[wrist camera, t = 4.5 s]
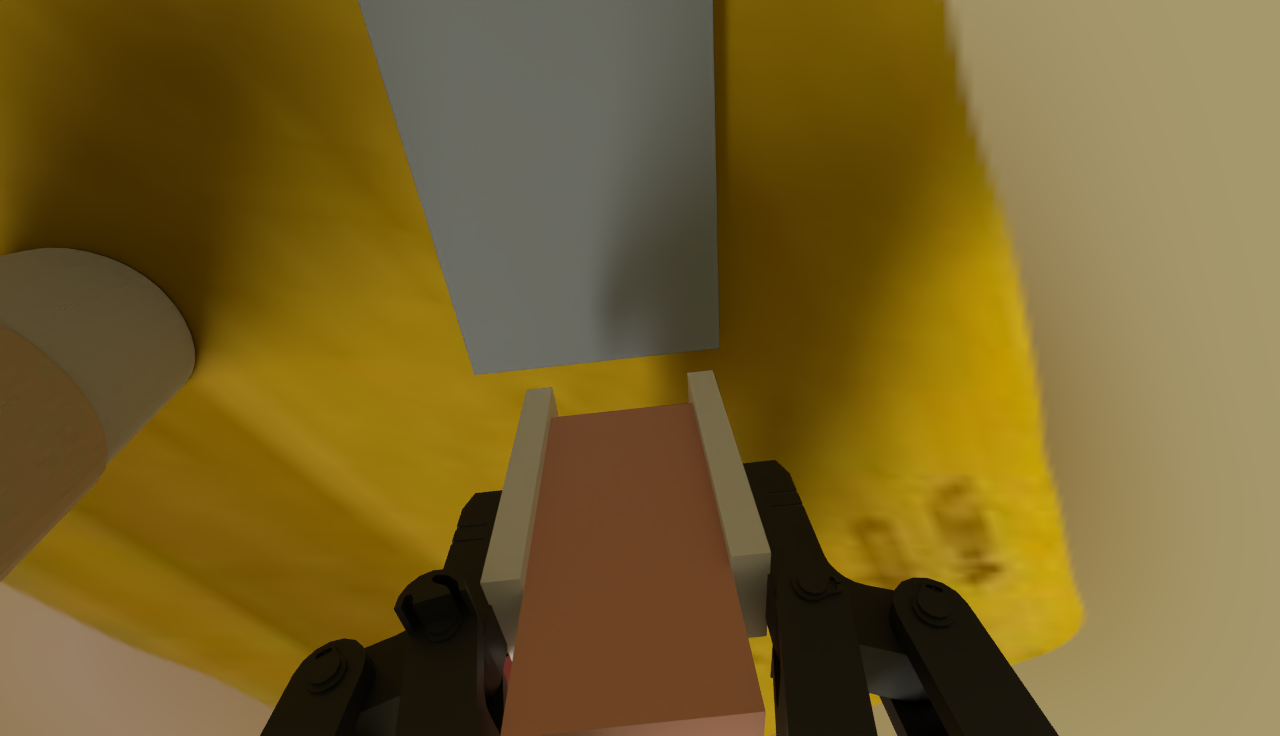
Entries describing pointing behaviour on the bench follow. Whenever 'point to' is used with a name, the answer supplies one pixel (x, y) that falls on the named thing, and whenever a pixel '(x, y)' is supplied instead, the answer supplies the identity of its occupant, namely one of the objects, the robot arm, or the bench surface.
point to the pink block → (630, 589)
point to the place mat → (562, 170)
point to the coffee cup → (75, 380)
